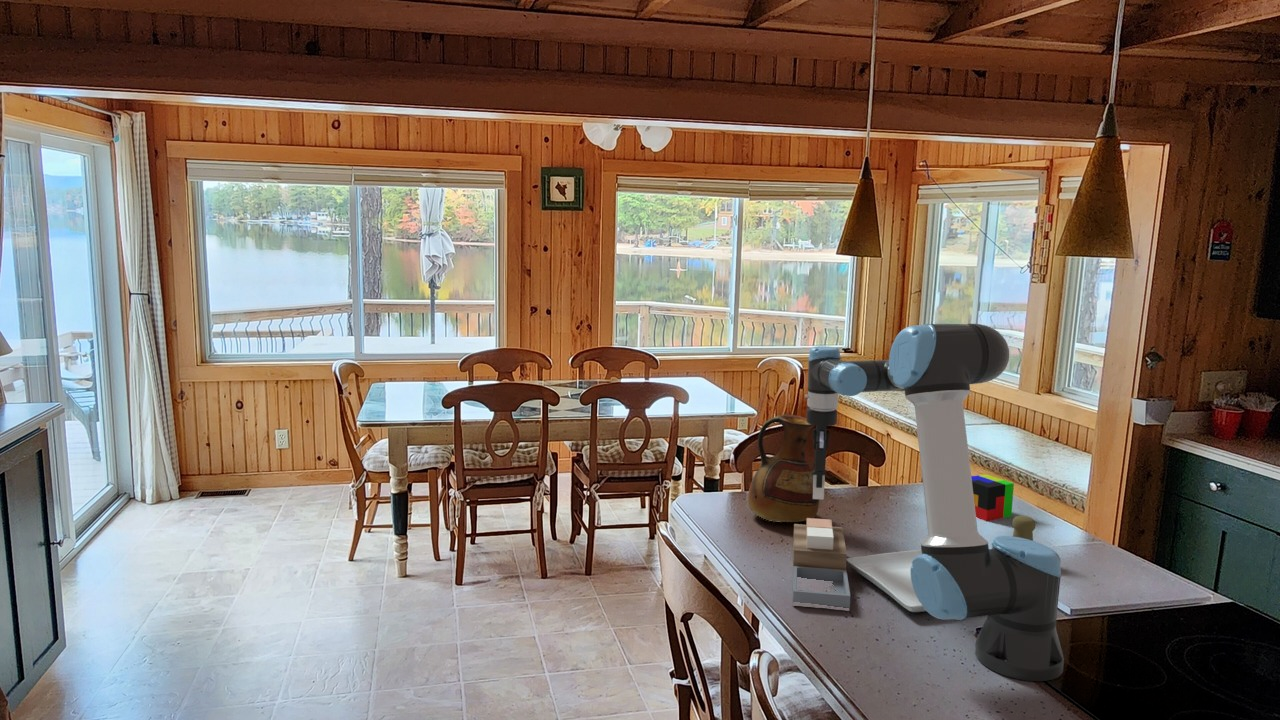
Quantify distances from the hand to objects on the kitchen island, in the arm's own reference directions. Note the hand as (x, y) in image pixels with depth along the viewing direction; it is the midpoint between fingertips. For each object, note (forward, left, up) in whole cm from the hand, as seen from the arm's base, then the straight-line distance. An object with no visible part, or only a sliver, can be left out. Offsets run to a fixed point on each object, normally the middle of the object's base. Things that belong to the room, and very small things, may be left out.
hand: (818, 498), depth 206 cm
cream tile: (-15, 0, -6) cm, 17 cm away
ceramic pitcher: (+22, +9, -14) cm, 27 cm away
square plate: (-19, -24, -14) cm, 34 cm away
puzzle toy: (+38, -49, -14) cm, 63 cm away
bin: (-28, 0, -13) cm, 31 cm away
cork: (+3, -50, -14) cm, 52 cm away
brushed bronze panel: (-11, 0, -13) cm, 18 cm away
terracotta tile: (-9, 0, -6) cm, 11 cm away
